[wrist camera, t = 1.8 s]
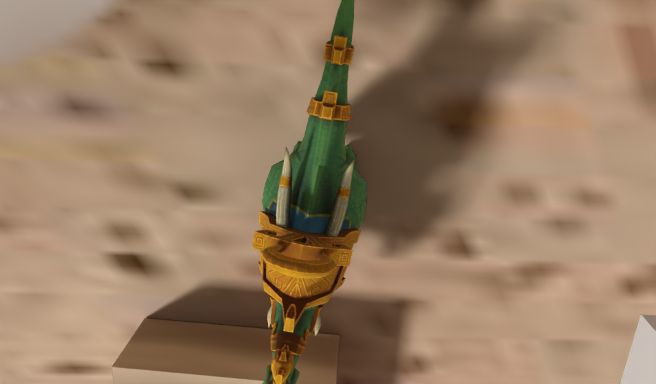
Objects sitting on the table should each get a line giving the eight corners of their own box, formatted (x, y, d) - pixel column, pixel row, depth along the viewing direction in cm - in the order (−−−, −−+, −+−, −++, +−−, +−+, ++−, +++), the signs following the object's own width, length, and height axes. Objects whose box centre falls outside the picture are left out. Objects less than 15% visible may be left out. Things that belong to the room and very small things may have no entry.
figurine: (259, 301, 21) (198, 479, 13) (306, -19, 17) (254, -25, 9) (336, 316, 21) (317, 501, 13) (403, -1, 17) (431, 8, 9)
